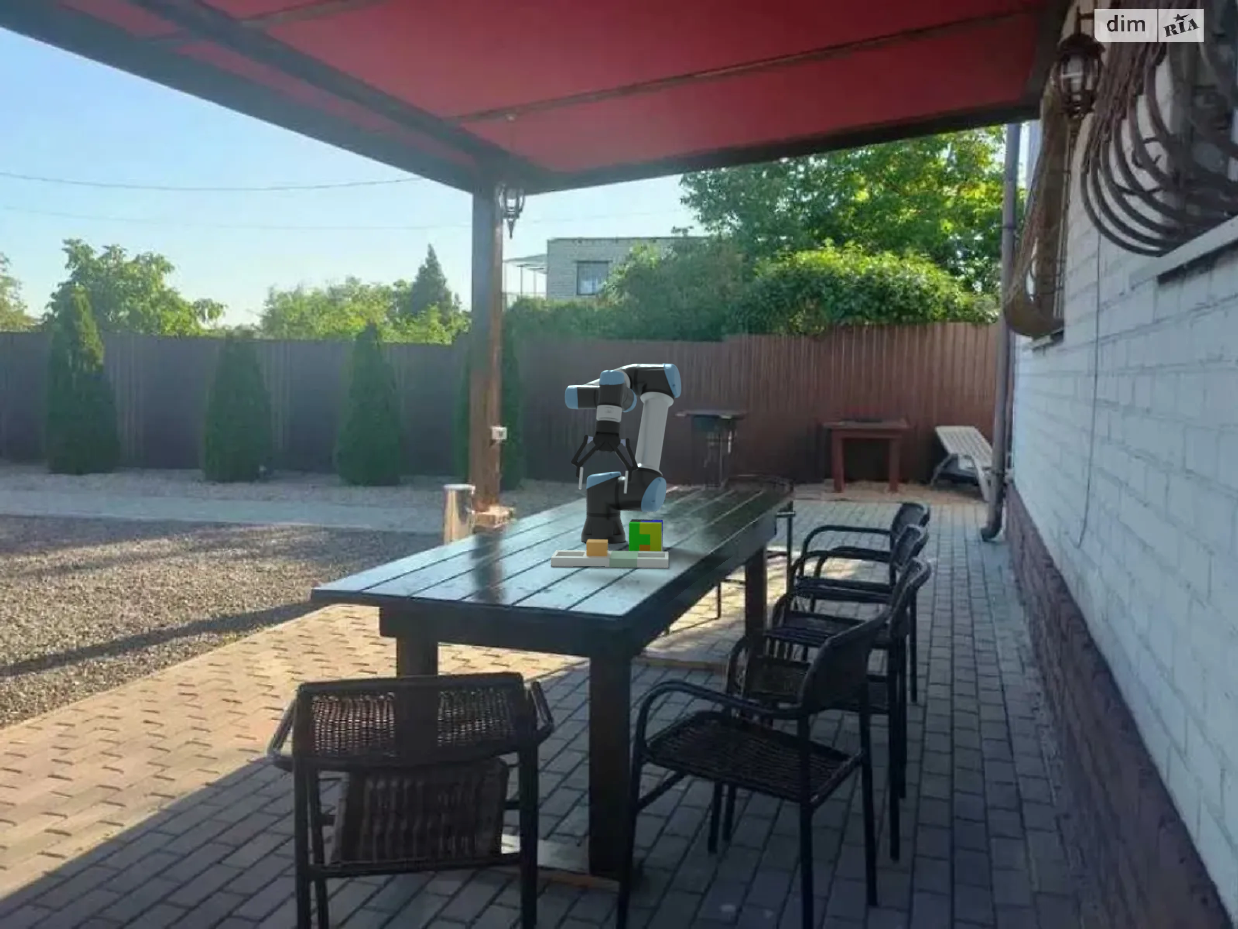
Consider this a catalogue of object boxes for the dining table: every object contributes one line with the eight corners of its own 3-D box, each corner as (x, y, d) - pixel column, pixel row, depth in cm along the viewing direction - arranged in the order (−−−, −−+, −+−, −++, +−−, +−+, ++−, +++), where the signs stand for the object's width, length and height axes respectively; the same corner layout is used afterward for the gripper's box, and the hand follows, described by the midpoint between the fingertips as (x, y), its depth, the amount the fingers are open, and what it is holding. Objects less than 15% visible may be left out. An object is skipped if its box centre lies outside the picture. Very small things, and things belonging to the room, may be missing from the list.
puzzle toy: (662, 550, 322) (662, 519, 321) (660, 555, 312) (661, 523, 312) (631, 550, 323) (631, 519, 322) (628, 555, 313) (628, 523, 313)
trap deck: (556, 558, 306) (556, 550, 306) (668, 559, 304) (668, 551, 304) (550, 566, 292) (550, 557, 292) (668, 567, 291) (668, 559, 290)
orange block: (587, 552, 301) (588, 539, 301) (607, 552, 301) (608, 539, 301) (586, 555, 295) (586, 542, 295) (606, 556, 295) (606, 542, 295)
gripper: (566, 415, 301) (560, 486, 298) (649, 422, 301) (644, 492, 298) (568, 420, 309) (561, 489, 306) (649, 427, 308) (643, 495, 305)
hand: (602, 491), depth 302 cm, fingers open, 13 cm apart
